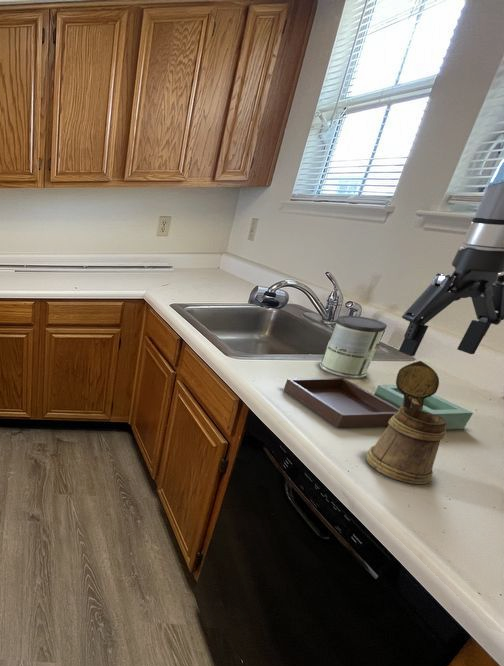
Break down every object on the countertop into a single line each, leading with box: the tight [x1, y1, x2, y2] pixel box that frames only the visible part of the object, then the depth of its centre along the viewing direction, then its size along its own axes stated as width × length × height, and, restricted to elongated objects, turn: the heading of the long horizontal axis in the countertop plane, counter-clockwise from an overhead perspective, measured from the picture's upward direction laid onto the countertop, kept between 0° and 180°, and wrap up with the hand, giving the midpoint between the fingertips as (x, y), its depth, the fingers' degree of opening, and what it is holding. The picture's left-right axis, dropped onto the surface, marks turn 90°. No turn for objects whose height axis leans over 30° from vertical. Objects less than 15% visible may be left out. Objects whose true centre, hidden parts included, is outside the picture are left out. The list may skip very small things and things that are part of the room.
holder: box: [283, 377, 399, 429], centre depth 96 cm, size 17×15×3 cm
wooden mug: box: [365, 360, 447, 485], centre depth 74 cm, size 9×14×18 cm, turn 155°
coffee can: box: [319, 315, 388, 379], centre depth 111 cm, size 10×10×14 cm
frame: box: [373, 384, 474, 430], centre depth 93 cm, size 13×9×4 cm
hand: (435, 352), depth 87 cm, fingers open, 13 cm apart
